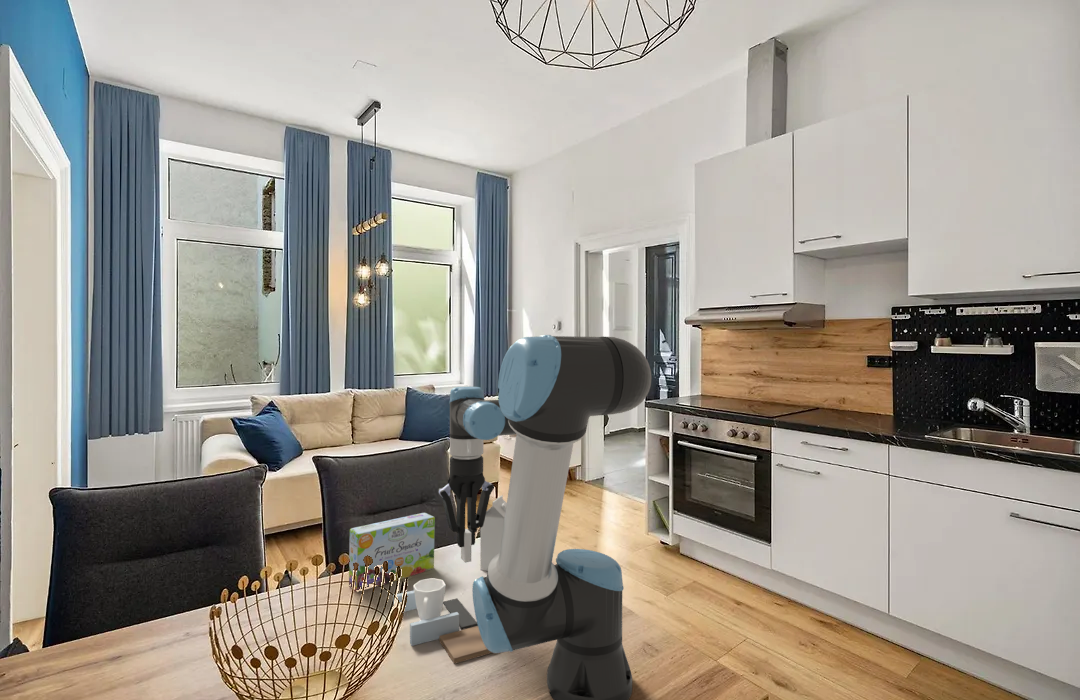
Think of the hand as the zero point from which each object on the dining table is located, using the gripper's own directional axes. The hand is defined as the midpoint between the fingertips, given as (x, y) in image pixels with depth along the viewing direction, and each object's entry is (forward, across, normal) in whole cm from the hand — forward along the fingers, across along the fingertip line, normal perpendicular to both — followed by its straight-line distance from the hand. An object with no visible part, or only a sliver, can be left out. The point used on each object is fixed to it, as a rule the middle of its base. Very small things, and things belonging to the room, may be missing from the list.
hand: (466, 559), depth 122 cm
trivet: (+12, +4, +14) cm, 18 cm away
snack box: (+12, +10, -24) cm, 29 cm away
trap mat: (+12, +2, 0) cm, 12 cm away
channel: (+12, +10, 0) cm, 15 cm away
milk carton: (+12, -16, -18) cm, 27 cm away
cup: (+12, +9, +2) cm, 15 cm away
